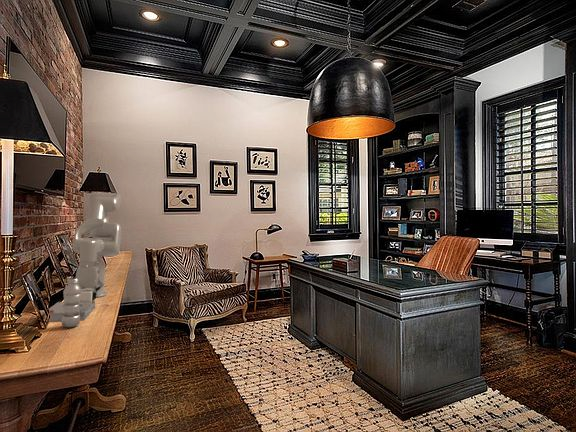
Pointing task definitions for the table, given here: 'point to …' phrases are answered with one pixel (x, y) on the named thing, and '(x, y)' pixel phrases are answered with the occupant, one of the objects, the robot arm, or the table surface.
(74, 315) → the plastic bottle
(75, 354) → the table surface
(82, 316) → the socket
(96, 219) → the robot arm
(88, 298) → the plug
